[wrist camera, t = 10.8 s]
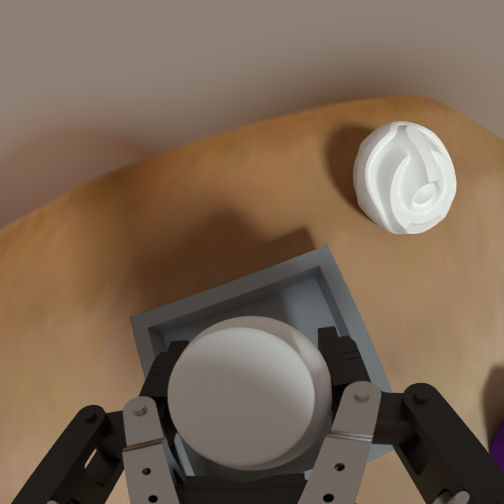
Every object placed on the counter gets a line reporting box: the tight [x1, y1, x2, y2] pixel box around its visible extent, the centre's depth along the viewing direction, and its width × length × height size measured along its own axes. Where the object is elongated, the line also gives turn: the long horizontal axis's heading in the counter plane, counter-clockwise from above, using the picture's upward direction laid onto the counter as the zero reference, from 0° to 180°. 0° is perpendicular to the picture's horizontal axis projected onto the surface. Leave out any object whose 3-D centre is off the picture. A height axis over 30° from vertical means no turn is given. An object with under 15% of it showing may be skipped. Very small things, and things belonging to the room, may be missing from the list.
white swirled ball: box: [353, 122, 456, 234], centre depth 20 cm, size 8×8×8 cm
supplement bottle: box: [168, 316, 332, 470], centre depth 12 cm, size 6×6×10 cm
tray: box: [130, 245, 394, 483], centre depth 18 cm, size 13×13×4 cm
